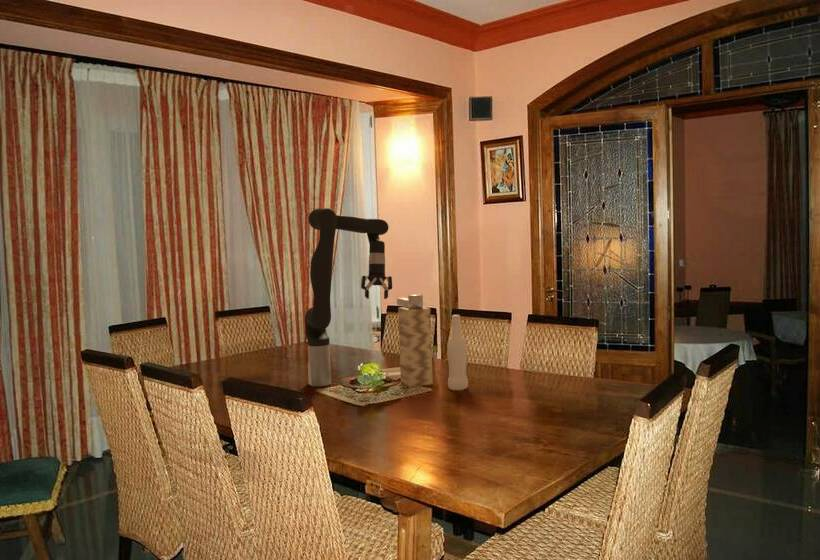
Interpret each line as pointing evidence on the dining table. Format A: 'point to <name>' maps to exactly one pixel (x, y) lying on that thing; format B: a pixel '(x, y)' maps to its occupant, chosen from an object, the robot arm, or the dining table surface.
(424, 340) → the brown wavy-grained wooden cylinder
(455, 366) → the bottle
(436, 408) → the dining table surface
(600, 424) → the dining table surface
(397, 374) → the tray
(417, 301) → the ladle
